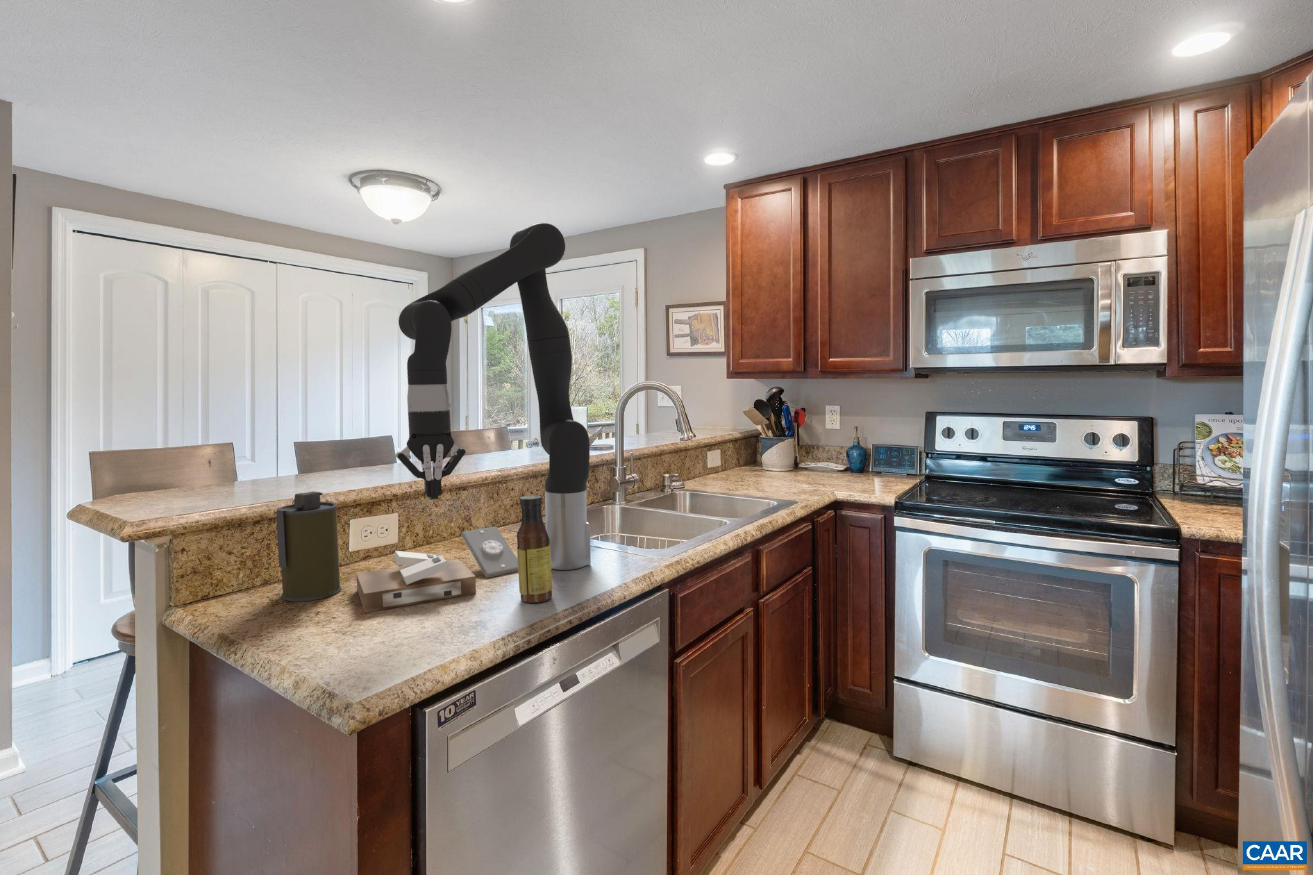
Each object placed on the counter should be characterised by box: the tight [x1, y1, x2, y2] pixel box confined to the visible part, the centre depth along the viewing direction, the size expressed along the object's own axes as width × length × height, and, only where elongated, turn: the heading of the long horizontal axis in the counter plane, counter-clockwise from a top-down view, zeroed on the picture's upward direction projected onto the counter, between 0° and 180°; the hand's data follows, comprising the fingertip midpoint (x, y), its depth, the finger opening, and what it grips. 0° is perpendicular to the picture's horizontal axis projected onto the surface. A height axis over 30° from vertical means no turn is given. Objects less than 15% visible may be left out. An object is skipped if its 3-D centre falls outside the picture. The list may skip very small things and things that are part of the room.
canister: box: [275, 491, 342, 603], centre depth 123 cm, size 11×10×20 cm
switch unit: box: [355, 558, 477, 613], centre depth 124 cm, size 20×15×4 cm
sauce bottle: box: [516, 494, 553, 604], centre depth 120 cm, size 7×6×20 cm
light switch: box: [461, 526, 518, 579], centre depth 141 cm, size 8×6×14 cm
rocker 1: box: [393, 550, 437, 566], centre depth 128 cm, size 8×5×2 cm, turn 122°
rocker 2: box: [400, 554, 449, 585], centre depth 121 cm, size 8×5×2 cm, turn 120°
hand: (433, 498), depth 120 cm, fingers closed
